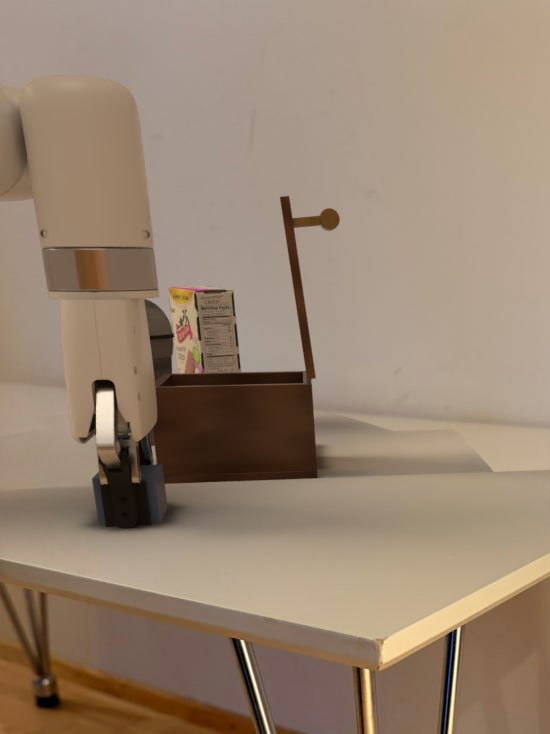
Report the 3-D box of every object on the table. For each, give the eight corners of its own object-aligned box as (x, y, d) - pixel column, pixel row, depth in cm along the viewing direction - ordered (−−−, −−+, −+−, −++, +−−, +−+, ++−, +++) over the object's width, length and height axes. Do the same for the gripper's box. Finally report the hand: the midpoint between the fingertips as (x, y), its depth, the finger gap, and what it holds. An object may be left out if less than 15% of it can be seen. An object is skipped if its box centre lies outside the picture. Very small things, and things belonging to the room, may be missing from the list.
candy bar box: (181, 422, 126) (165, 286, 120) (219, 418, 128) (206, 285, 123) (208, 434, 117) (193, 288, 111) (248, 430, 120) (235, 287, 114)
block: (100, 537, 74) (91, 478, 73) (110, 522, 78) (102, 466, 77) (162, 534, 75) (154, 476, 73) (169, 520, 79) (162, 464, 77)
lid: (279, 196, 85) (337, 191, 85) (282, 203, 95) (333, 198, 96) (307, 379, 90) (361, 373, 91) (306, 366, 101) (354, 361, 102)
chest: (159, 484, 91) (147, 387, 88) (173, 460, 102) (163, 373, 99) (317, 478, 94) (311, 383, 90) (315, 456, 104) (310, 370, 101)
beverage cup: (199, 439, 114) (179, 254, 106) (148, 449, 108) (123, 254, 101) (157, 434, 117) (135, 254, 110) (105, 443, 112) (79, 254, 104)
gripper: (72, 275, 77) (105, 503, 84) (14, 279, 62) (60, 559, 68) (171, 274, 78) (195, 499, 85) (139, 278, 63) (172, 554, 69)
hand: (135, 523), depth 76 cm, fingers closed on block, 4 cm apart
